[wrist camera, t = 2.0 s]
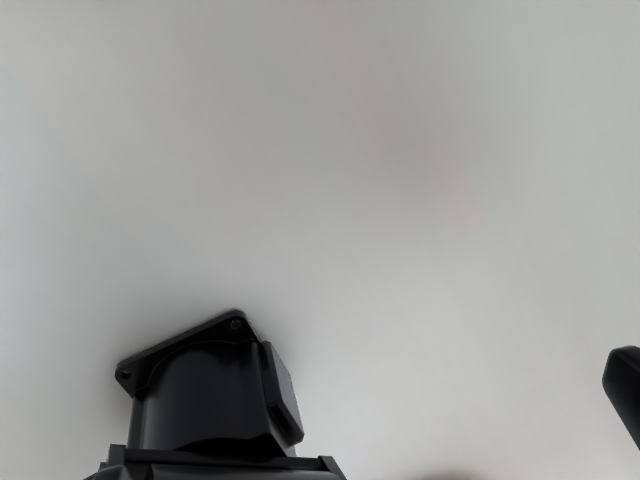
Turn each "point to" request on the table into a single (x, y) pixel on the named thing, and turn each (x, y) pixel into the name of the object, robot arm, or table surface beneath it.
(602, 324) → the table surface
